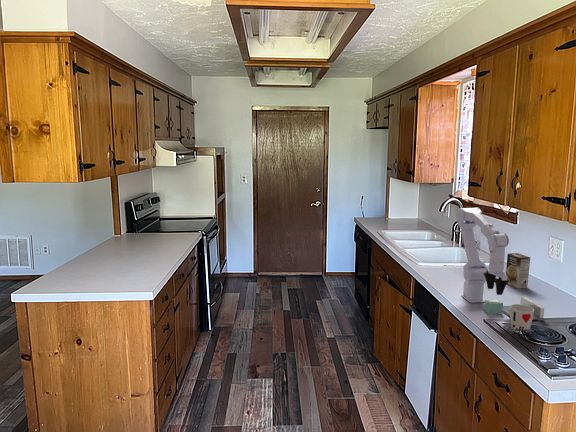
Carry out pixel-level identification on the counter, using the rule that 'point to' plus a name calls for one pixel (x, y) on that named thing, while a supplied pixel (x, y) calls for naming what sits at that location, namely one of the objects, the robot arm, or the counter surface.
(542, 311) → the rail base
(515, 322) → the cup
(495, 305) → the module
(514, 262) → the coffee box
